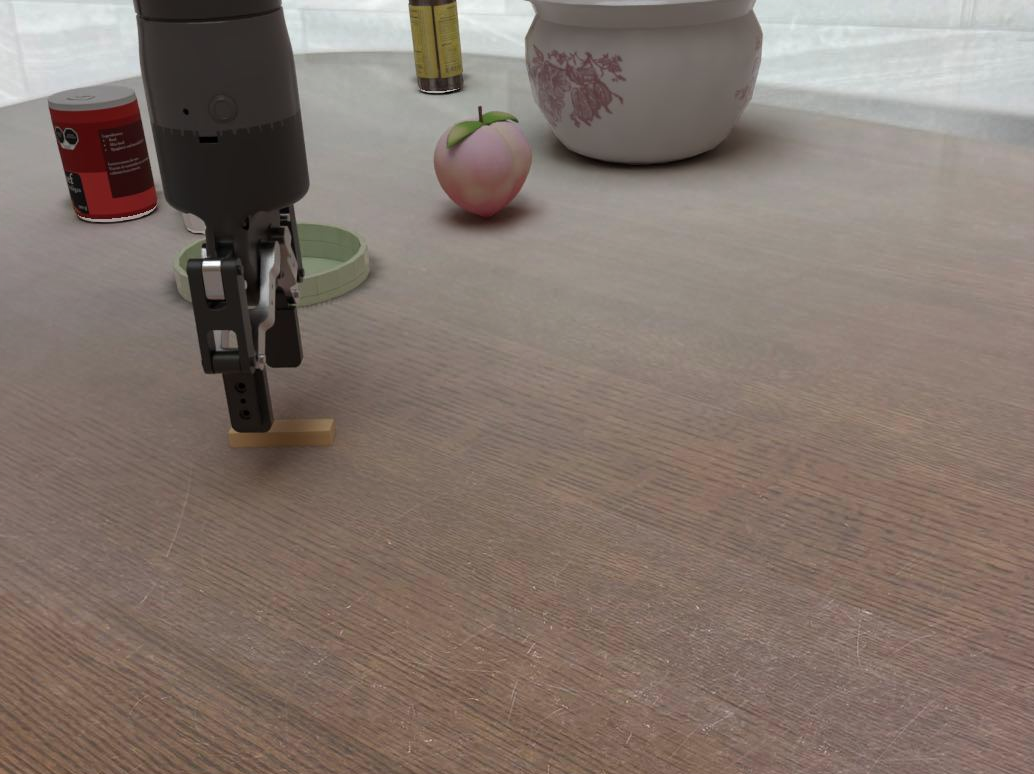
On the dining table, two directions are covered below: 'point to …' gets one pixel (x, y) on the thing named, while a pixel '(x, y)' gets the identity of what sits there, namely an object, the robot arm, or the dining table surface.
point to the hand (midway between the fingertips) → (270, 396)
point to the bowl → (307, 262)
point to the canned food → (103, 151)
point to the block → (288, 434)
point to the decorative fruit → (483, 162)
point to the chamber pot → (642, 74)
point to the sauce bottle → (436, 44)
